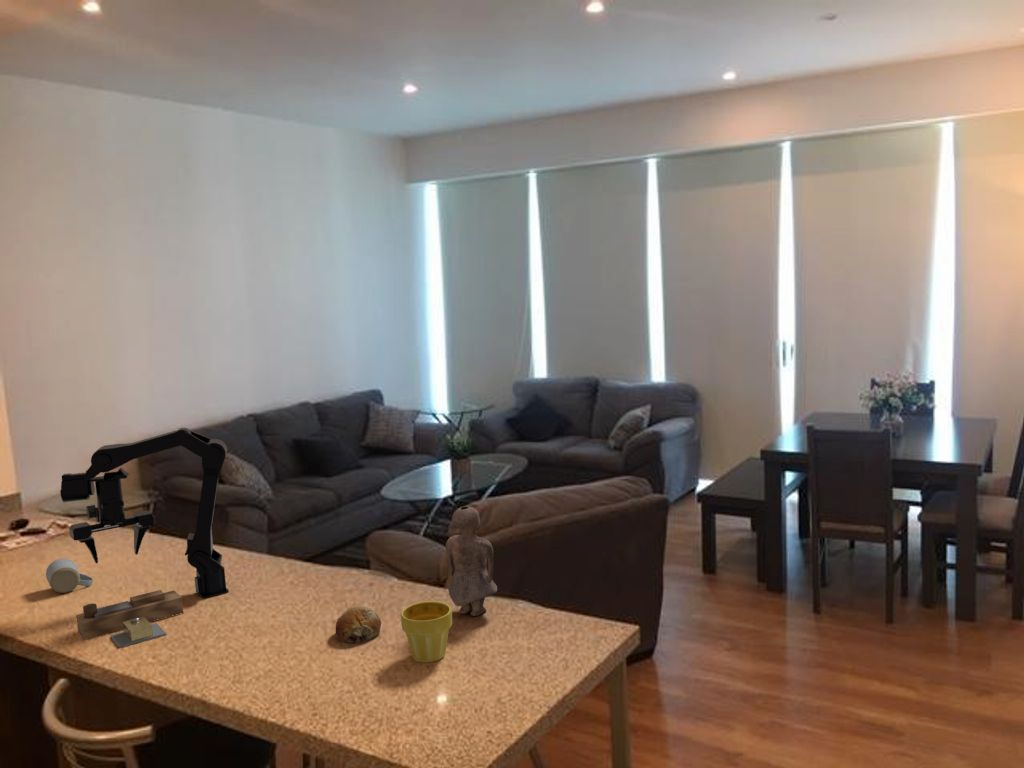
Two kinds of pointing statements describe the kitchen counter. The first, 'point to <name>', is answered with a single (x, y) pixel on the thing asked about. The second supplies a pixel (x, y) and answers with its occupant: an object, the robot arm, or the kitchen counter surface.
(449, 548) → the clay figurine
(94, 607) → the plane body
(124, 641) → the mat
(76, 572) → the ceramic mug
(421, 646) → the plant pot
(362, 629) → the bread roll
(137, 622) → the lever cap
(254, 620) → the kitchen counter surface
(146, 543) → the kitchen counter surface
